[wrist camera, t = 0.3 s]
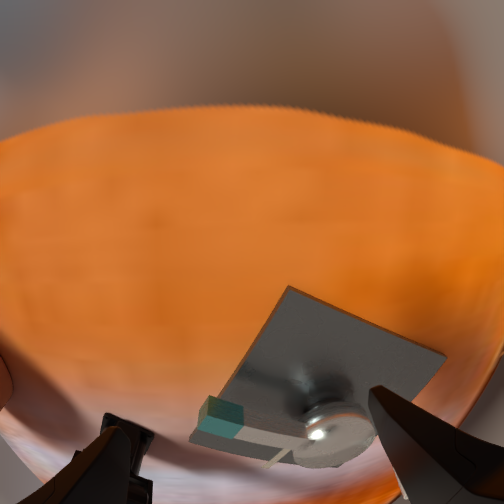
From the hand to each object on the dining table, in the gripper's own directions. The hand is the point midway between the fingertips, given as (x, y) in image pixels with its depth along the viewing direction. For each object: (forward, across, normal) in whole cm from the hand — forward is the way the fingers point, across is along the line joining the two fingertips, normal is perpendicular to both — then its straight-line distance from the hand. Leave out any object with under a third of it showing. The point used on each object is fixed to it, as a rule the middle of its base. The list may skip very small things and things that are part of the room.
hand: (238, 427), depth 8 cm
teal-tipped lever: (+11, -2, +14) cm, 18 cm away
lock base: (+14, -5, +17) cm, 22 cm away
